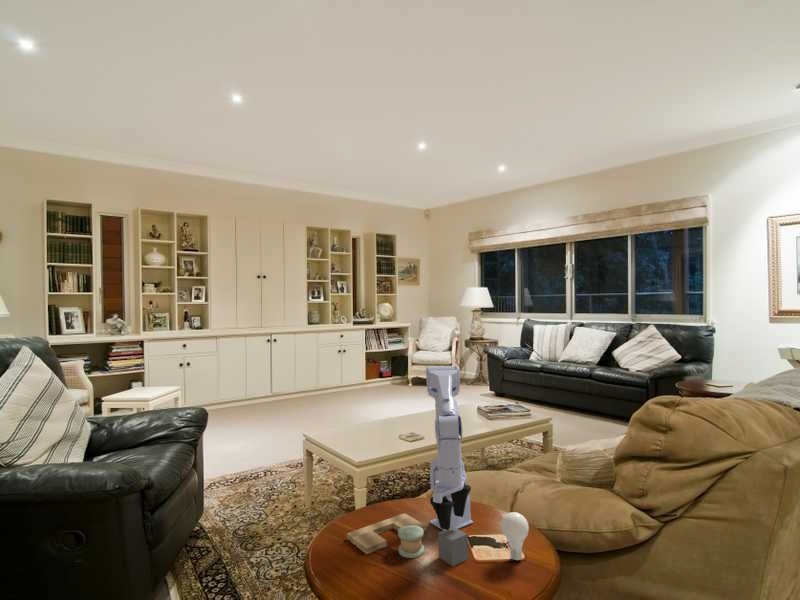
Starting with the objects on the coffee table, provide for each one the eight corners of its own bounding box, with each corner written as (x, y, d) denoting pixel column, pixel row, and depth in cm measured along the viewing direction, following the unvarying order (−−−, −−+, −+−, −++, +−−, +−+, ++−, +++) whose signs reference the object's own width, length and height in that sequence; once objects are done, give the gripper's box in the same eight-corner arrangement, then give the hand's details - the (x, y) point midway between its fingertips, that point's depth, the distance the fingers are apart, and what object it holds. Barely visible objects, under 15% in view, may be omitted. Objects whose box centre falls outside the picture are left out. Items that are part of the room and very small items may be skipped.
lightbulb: (531, 568, 107) (529, 519, 107) (502, 566, 108) (500, 518, 109) (529, 553, 113) (527, 508, 113) (502, 552, 114) (500, 507, 115)
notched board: (404, 518, 135) (404, 513, 135) (426, 530, 127) (426, 525, 127) (347, 538, 124) (346, 533, 124) (366, 554, 116) (366, 548, 116)
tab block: (454, 550, 116) (453, 526, 116) (468, 559, 112) (467, 534, 112) (439, 557, 113) (437, 532, 113) (452, 566, 109) (451, 540, 109)
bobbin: (413, 542, 121) (413, 522, 121) (429, 552, 116) (428, 531, 116) (393, 550, 117) (393, 530, 117) (408, 561, 112) (408, 540, 112)
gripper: (448, 454, 121) (450, 507, 121) (420, 472, 109) (422, 530, 109) (473, 458, 117) (475, 513, 117) (447, 477, 105) (449, 537, 105)
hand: (452, 522), depth 113 cm, fingers open, 7 cm apart
